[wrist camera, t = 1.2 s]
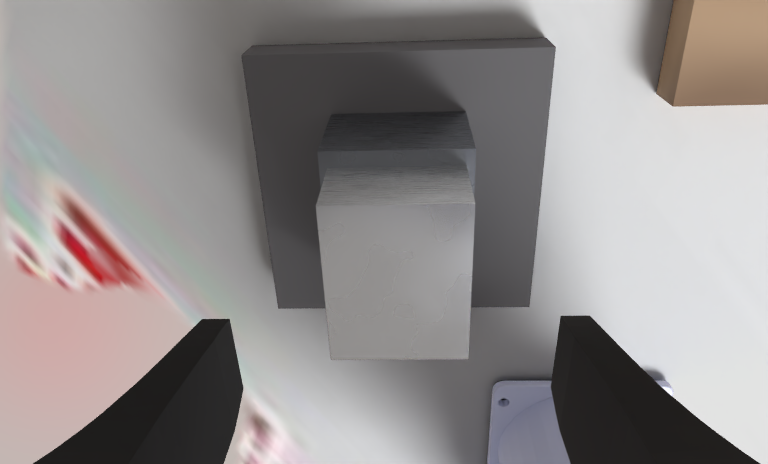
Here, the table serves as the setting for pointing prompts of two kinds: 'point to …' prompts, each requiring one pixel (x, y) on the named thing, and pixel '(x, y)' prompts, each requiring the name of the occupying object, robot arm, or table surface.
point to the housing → (397, 234)
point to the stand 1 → (404, 94)
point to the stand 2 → (716, 53)
